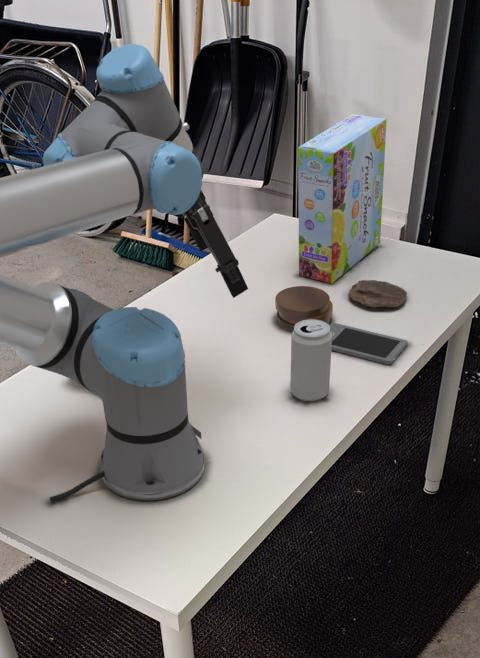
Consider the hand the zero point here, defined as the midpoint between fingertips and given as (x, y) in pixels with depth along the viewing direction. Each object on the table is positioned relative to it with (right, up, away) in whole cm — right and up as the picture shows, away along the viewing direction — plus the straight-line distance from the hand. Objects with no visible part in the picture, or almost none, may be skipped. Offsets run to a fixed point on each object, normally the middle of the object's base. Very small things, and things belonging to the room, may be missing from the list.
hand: (223, 268), depth 136 cm
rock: (+29, +3, +29) cm, 41 cm away
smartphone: (+24, -9, +16) cm, 30 cm away
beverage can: (+14, -19, +4) cm, 24 cm away
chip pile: (+15, -2, +23) cm, 28 cm away
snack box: (+23, +15, +42) cm, 50 cm away
